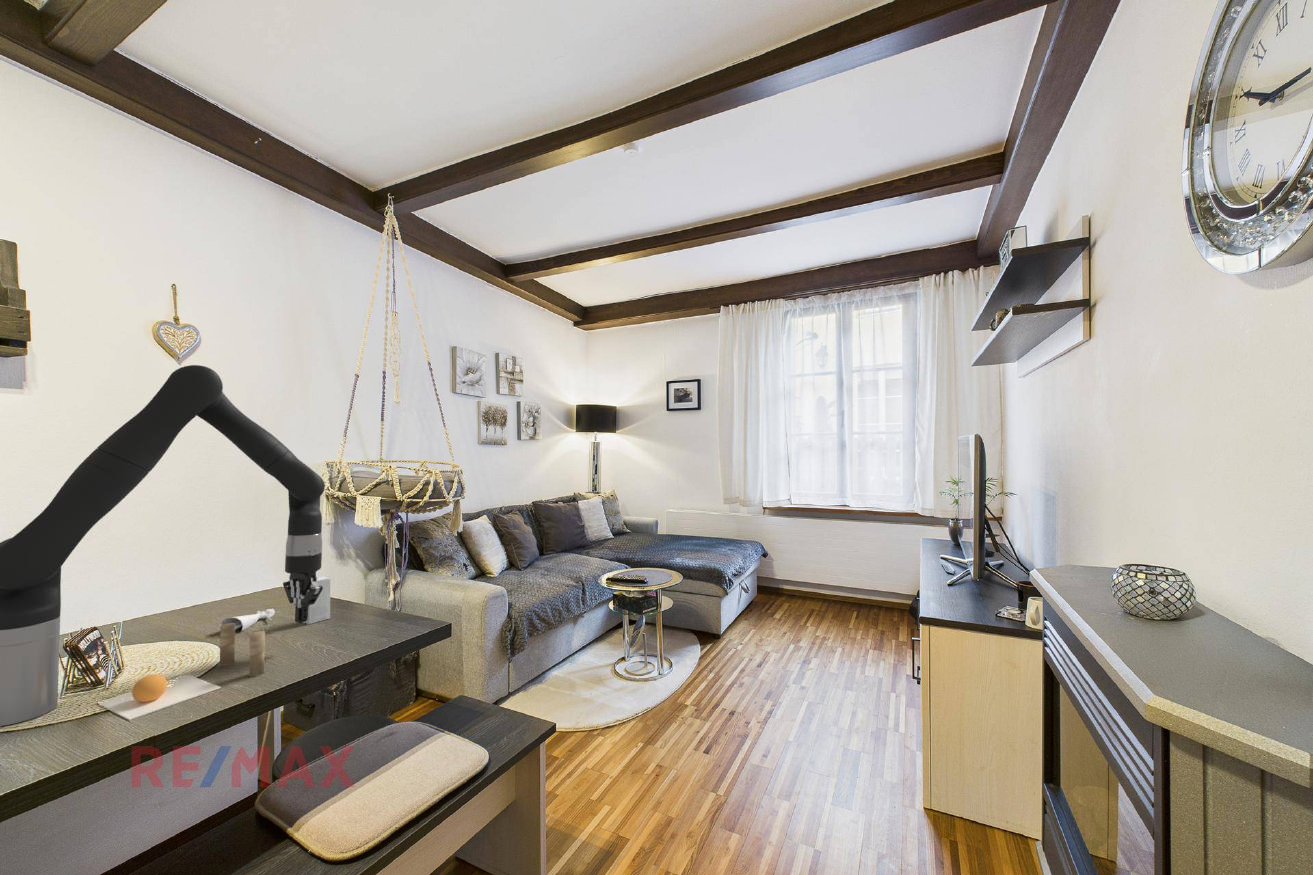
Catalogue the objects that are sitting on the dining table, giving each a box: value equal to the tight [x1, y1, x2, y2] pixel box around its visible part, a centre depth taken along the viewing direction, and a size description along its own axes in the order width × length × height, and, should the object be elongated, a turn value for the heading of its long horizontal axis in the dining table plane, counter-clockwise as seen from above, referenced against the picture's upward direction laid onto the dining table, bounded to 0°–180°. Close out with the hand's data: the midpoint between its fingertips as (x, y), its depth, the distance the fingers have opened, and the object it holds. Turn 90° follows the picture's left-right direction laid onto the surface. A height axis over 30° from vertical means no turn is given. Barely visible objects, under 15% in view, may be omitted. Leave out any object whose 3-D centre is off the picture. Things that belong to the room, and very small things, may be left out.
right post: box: [248, 630, 266, 678], centre depth 113 cm, size 3×3×9 cm
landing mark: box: [97, 674, 222, 721], centre depth 103 cm, size 14×14×1 cm
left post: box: [219, 623, 236, 667], centre depth 118 cm, size 3×3×9 cm
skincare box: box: [302, 576, 331, 625], centre depth 148 cm, size 6×4×12 cm
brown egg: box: [131, 673, 168, 702], centre depth 101 cm, size 5×5×5 cm
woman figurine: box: [217, 607, 275, 633], centre depth 144 cm, size 12×4×18 cm
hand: (301, 621), depth 127 cm, fingers closed
